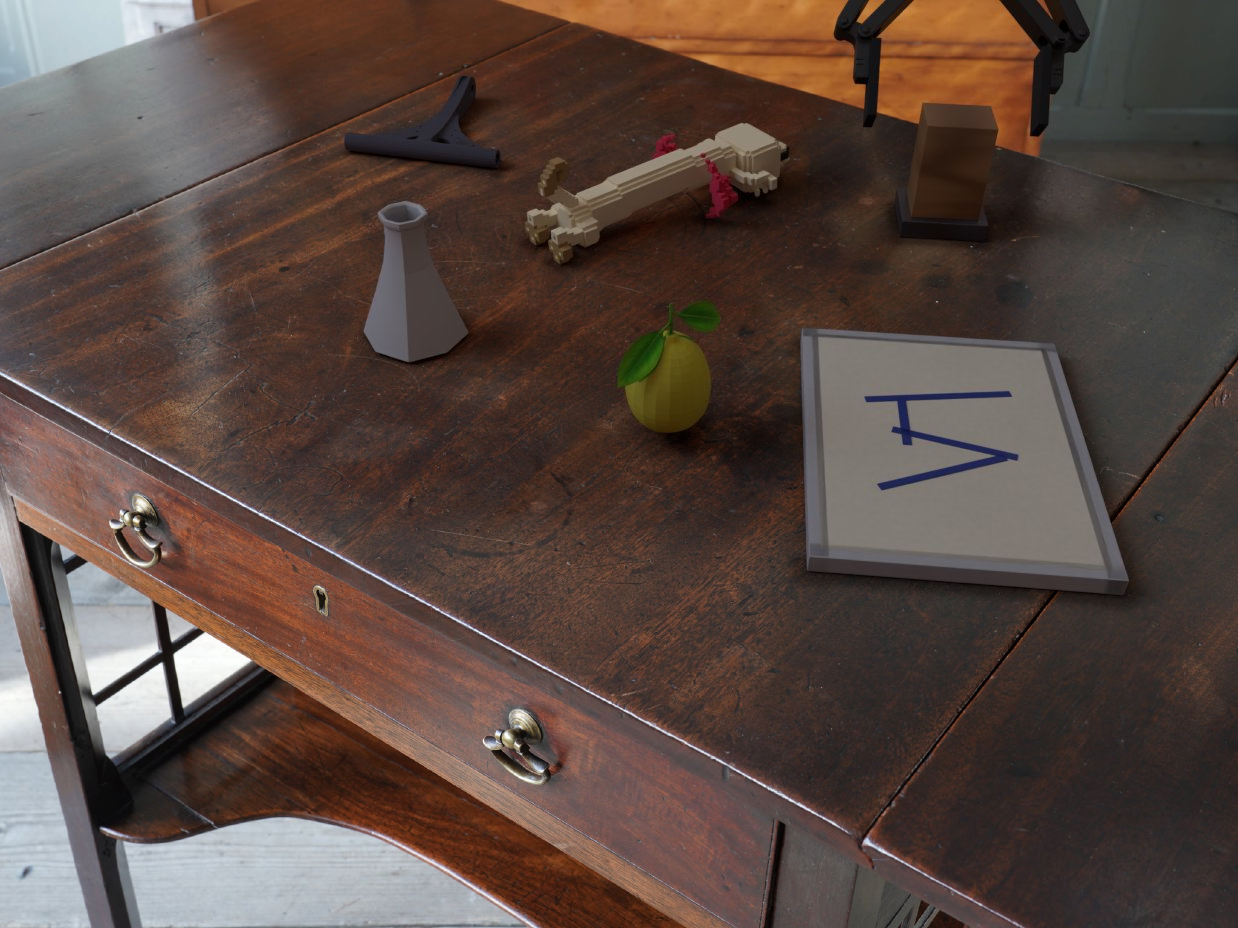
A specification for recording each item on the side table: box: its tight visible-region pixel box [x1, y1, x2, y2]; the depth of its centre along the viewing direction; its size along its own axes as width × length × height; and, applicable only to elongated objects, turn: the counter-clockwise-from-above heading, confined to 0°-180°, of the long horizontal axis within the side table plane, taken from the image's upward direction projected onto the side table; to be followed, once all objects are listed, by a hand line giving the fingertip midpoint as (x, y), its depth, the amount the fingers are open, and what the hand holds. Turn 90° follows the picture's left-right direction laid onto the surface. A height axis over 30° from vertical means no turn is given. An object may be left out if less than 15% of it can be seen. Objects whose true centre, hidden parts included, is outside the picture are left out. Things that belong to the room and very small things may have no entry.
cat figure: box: [524, 122, 790, 265], centre depth 101 cm, size 10×9×25 cm
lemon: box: [617, 300, 722, 434], centre depth 78 cm, size 7×6×10 cm
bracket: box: [343, 74, 501, 169], centre depth 116 cm, size 14×15×3 cm
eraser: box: [893, 102, 1000, 243], centre depth 100 cm, size 7×6×10 cm
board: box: [799, 327, 1130, 596], centre depth 79 cm, size 18×24×1 cm
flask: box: [363, 200, 469, 363], centre depth 86 cm, size 7×7×10 cm
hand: (953, 126), depth 99 cm, fingers open, 13 cm apart
